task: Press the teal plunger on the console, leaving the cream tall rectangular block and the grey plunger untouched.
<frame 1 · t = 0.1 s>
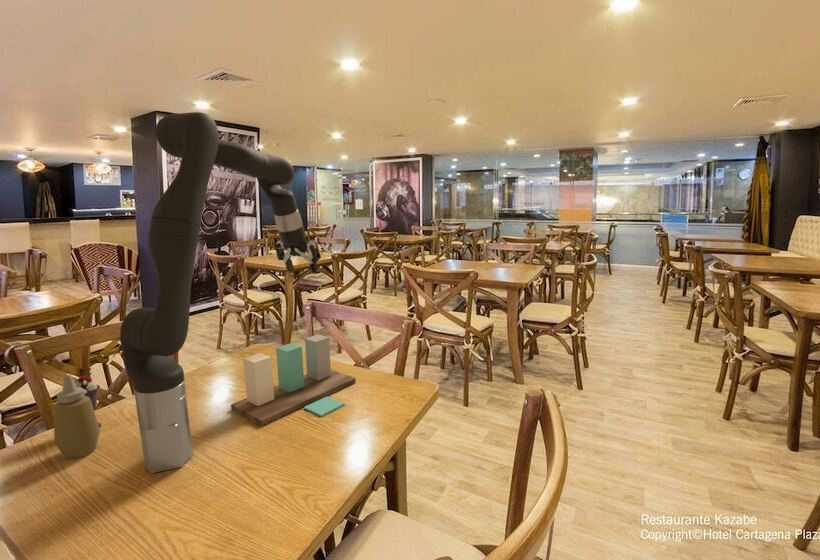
hand: (303, 271, 142), 31 cm above the table, tool tilted 20°, fingers open, 8 cm apart
cream tall rectangular block: (259, 379, 118), point 8 cm above the table, slide at 0.0 cm
teal plunger: (290, 367, 126), point 8 cm above the table, slide at 0.0 cm
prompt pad: (324, 407, 118), on the table
console: (292, 392, 127), on the table
sundae: (89, 429, 109), on the table
grey plunger: (318, 357, 133), point 8 cm above the table, slide at 0.0 cm
squeeze bottle: (80, 452, 99), on the table
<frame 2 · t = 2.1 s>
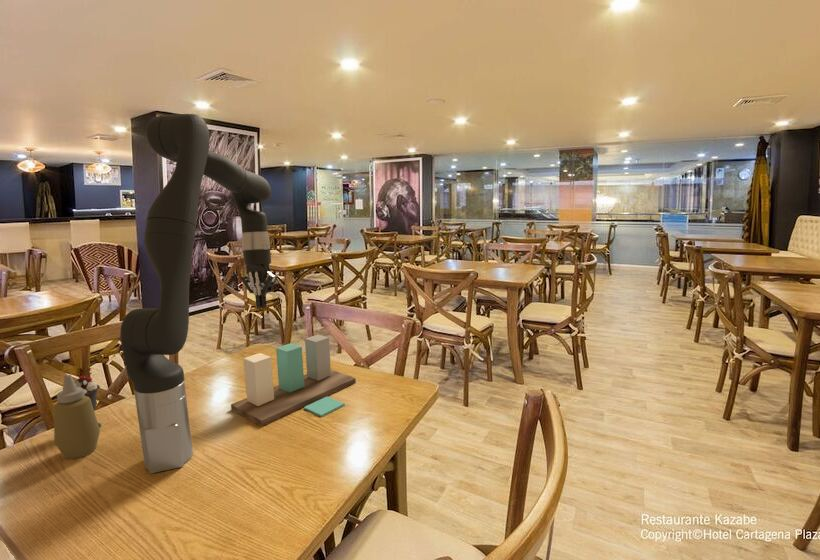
hand: (261, 307, 130), 23 cm above the table, tool pointing down, fingers closed
nothing on the table moved.
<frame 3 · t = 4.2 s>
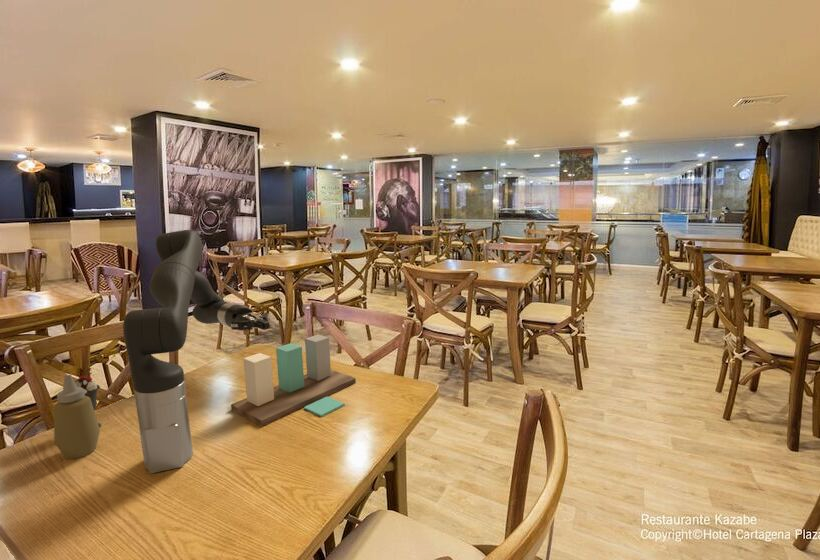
hand: (267, 325, 130), 18 cm above the table, tool horizontal, fingers closed
nothing on the table moved.
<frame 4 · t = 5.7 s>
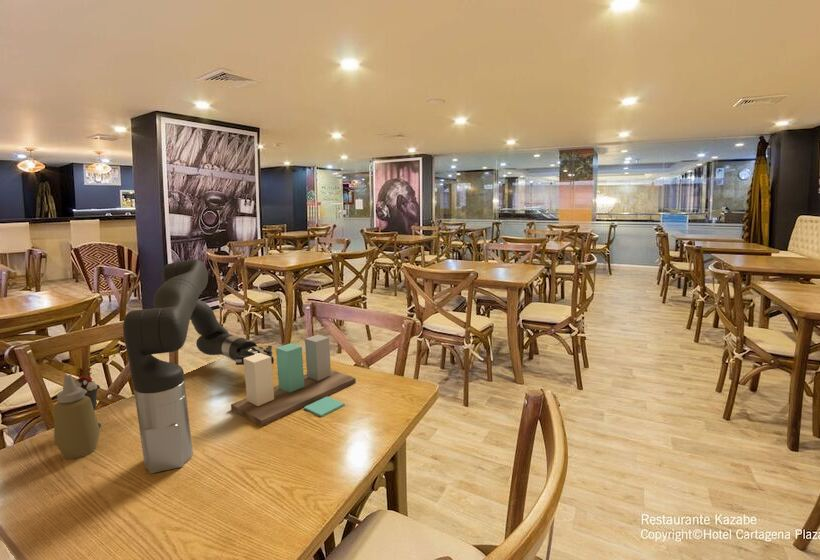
hand: (271, 361, 131), 7 cm above the table, tool horizontal, fingers closed
nothing on the table moved.
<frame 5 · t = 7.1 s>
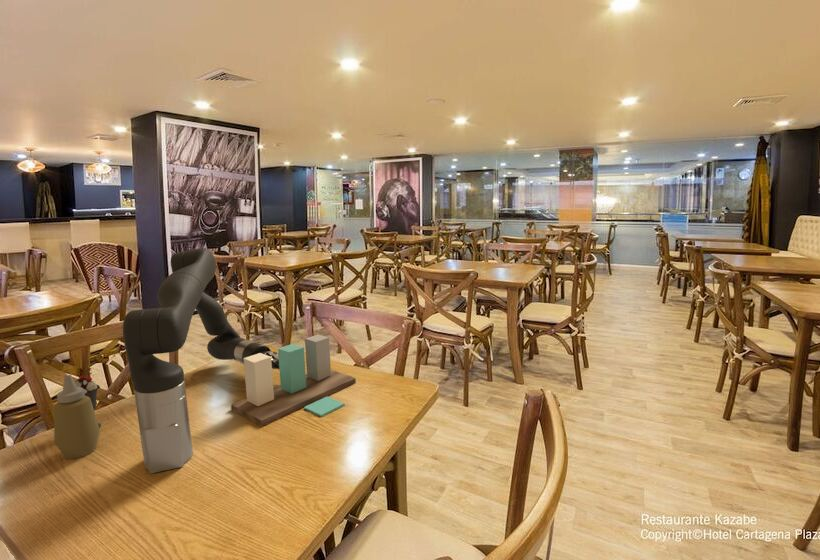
hand: (286, 367, 127), 7 cm above the table, tool horizontal, fingers closed
teal plunger: (292, 368, 125), point 8 cm above the table, slide at 0.9 cm, touching gripper
everything else where it was.
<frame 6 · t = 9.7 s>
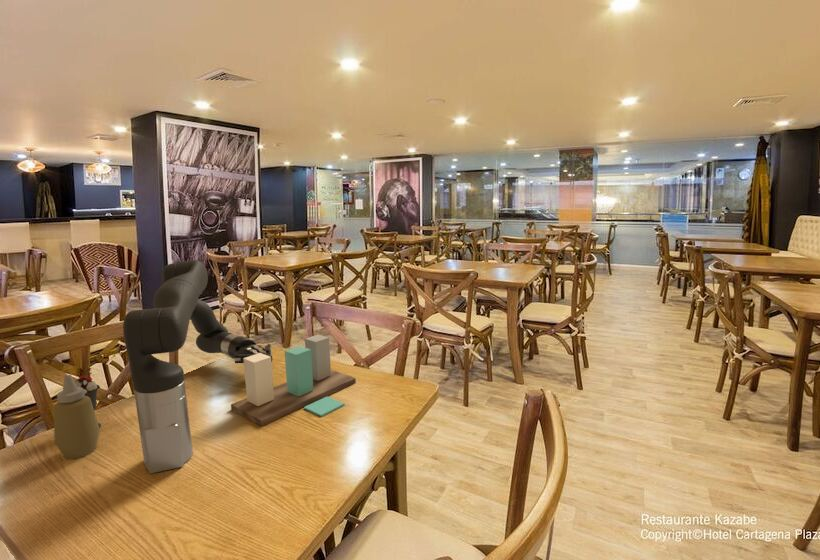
hand: (270, 359, 132), 8 cm above the table, tool horizontal, fingers closed
teal plunger: (299, 370, 123), point 8 cm above the table, slide at 4.0 cm
everything else where it was.
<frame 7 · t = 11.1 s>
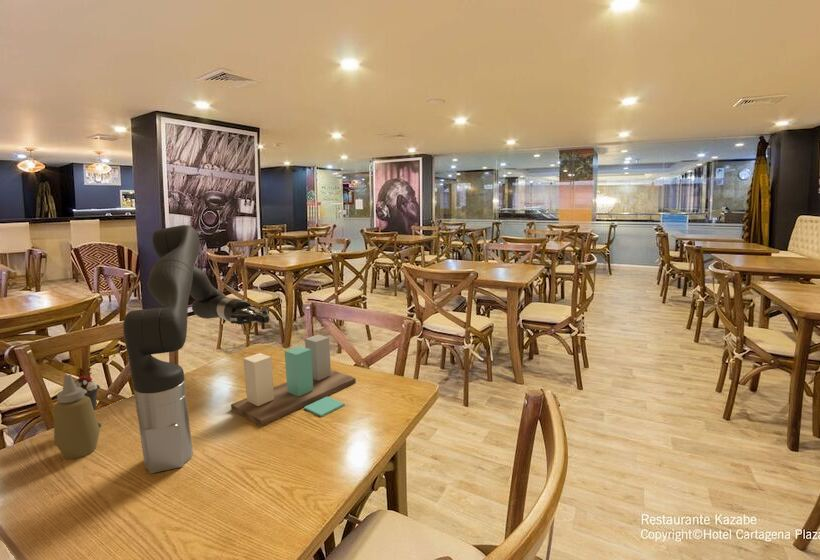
hand: (266, 319, 129), 20 cm above the table, tool horizontal, fingers closed
nothing on the table moved.
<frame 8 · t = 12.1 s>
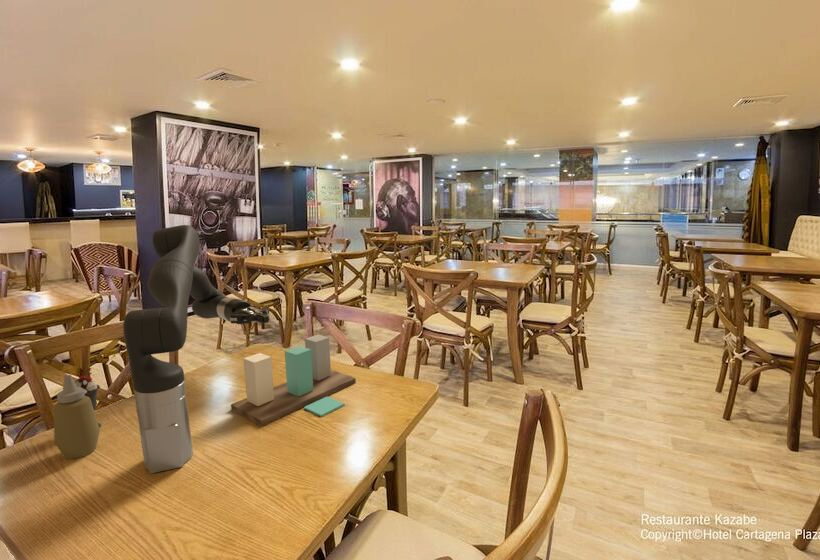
hand: (266, 319, 129), 20 cm above the table, tool horizontal, fingers closed
nothing on the table moved.
at the end: teal plunger slide at 4.0 cm; cream tall rectangular block slide at 0.0 cm; grey plunger slide at 0.0 cm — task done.
